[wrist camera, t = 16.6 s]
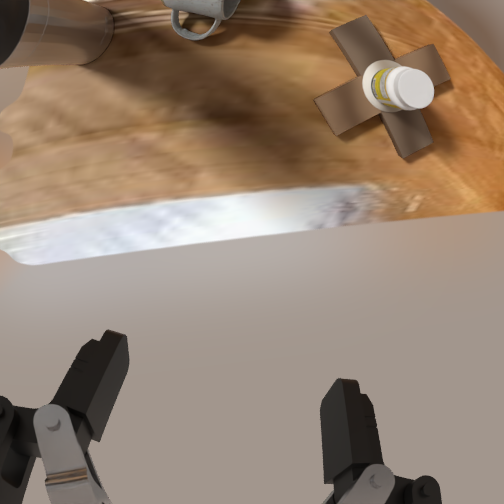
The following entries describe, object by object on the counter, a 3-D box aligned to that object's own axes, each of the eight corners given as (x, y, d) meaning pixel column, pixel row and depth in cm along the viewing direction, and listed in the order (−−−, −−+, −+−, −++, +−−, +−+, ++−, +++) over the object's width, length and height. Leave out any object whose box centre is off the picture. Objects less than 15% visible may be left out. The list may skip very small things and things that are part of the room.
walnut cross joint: (357, 177, 38) (361, 181, 36) (283, 55, 31) (284, 53, 30) (462, 121, 32) (469, 124, 30) (401, 2, 25) (407, -1, 24)
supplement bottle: (413, 89, 30) (446, 92, 22) (389, 114, 32) (418, 123, 24) (385, 60, 28) (414, 55, 21) (361, 86, 31) (385, 86, 23)
